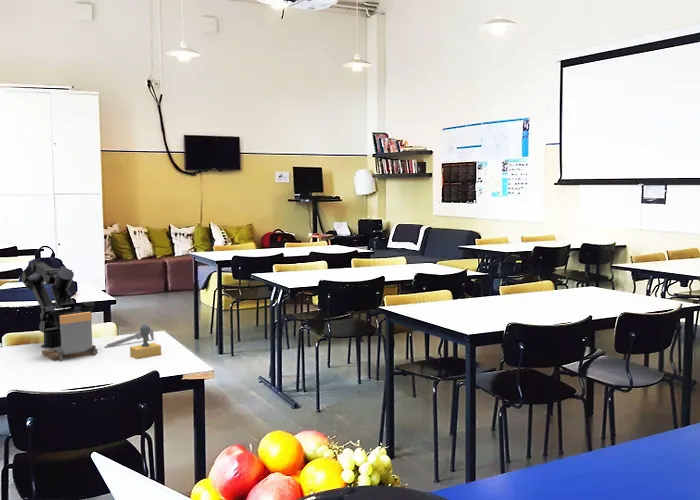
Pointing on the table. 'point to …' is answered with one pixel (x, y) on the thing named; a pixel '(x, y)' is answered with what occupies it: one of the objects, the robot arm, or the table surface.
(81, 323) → the gray slab
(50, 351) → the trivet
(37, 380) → the table surface
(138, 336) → the caliper
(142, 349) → the rubber stamp
